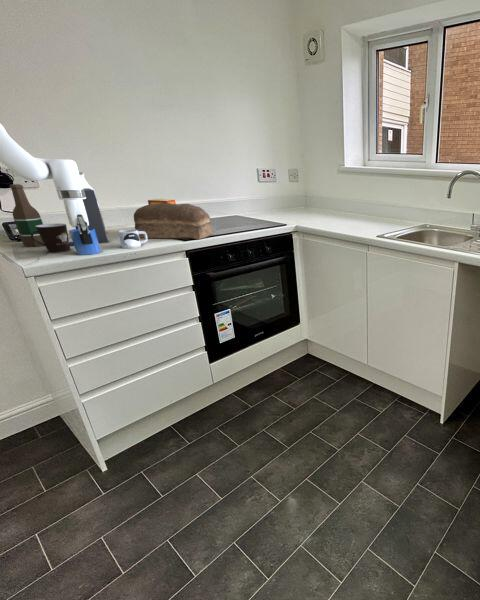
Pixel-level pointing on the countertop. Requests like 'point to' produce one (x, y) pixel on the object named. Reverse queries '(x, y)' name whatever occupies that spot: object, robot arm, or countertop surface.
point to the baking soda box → (161, 201)
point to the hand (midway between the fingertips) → (85, 242)
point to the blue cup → (87, 248)
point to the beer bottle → (25, 217)
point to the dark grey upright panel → (93, 216)
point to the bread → (172, 221)
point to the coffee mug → (53, 237)
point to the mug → (131, 238)
